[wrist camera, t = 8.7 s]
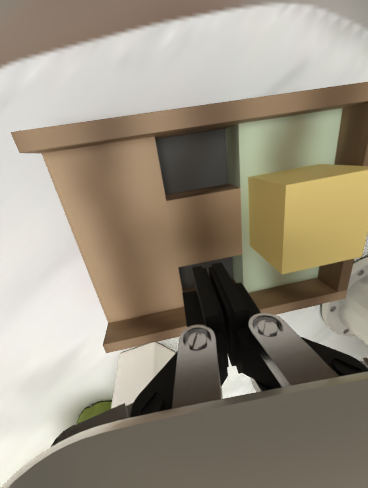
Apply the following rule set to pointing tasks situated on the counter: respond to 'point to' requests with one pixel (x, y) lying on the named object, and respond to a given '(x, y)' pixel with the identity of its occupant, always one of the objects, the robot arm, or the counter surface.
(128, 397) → the jar
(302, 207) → the block
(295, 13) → the counter surface
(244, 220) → the wooden tray
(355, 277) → the robot arm
